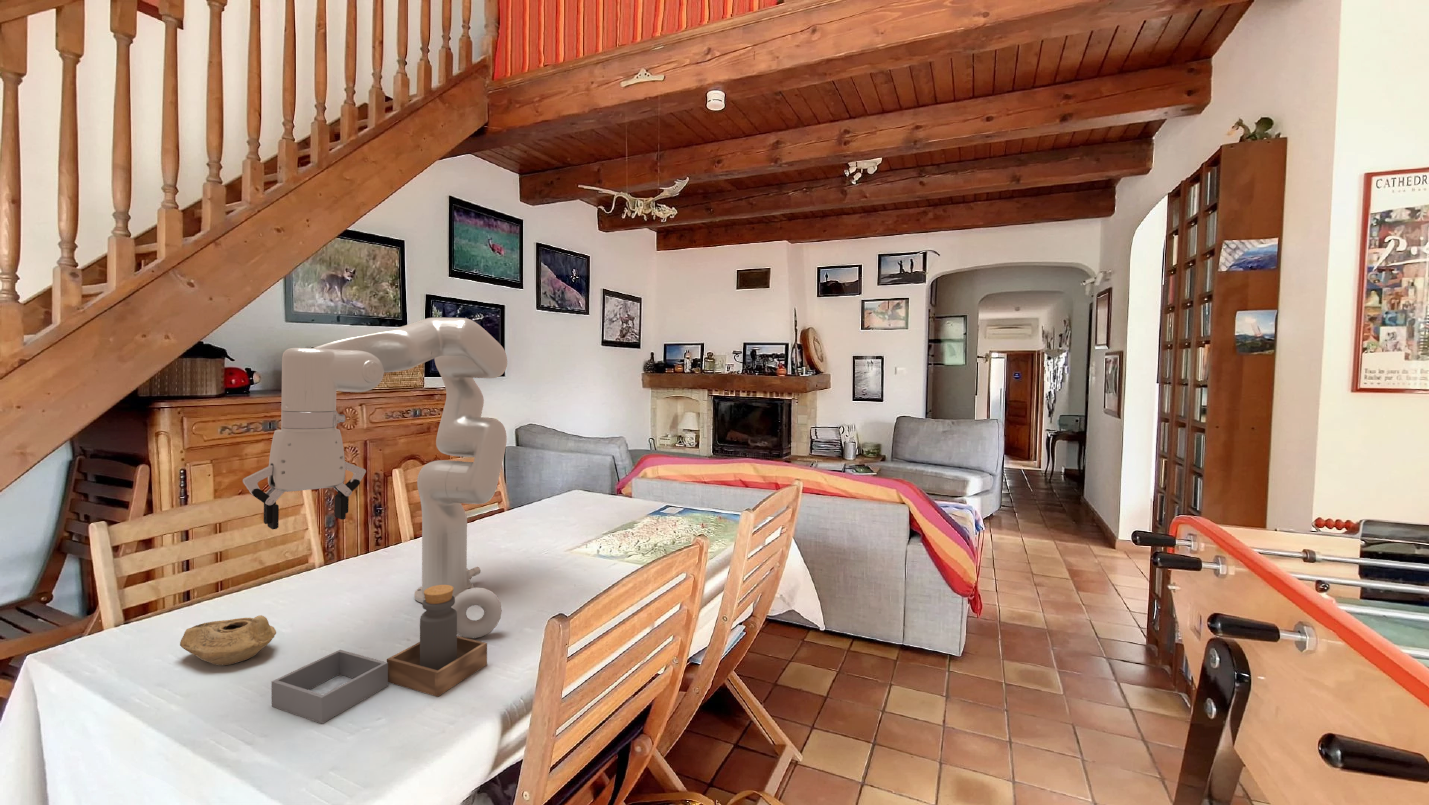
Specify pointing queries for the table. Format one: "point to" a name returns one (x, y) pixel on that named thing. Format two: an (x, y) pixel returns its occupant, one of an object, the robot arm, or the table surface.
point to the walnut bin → (436, 682)
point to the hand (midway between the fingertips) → (307, 522)
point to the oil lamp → (228, 639)
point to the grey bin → (320, 708)
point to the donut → (489, 606)
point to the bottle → (438, 628)
